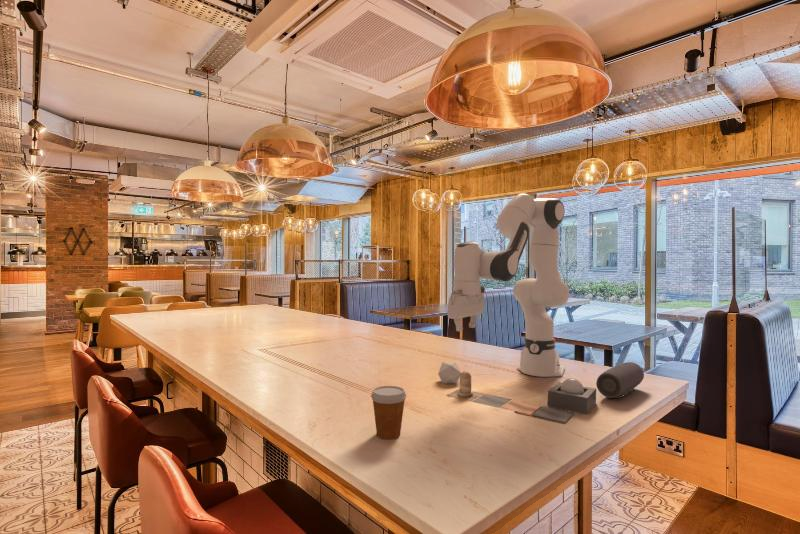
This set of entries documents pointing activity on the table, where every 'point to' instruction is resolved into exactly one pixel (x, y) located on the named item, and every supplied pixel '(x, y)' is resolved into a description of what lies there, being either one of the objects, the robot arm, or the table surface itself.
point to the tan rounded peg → (465, 385)
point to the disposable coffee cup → (388, 410)
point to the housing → (572, 399)
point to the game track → (519, 406)
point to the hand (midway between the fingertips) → (465, 329)
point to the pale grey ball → (572, 386)
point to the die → (449, 373)
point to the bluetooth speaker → (620, 379)
